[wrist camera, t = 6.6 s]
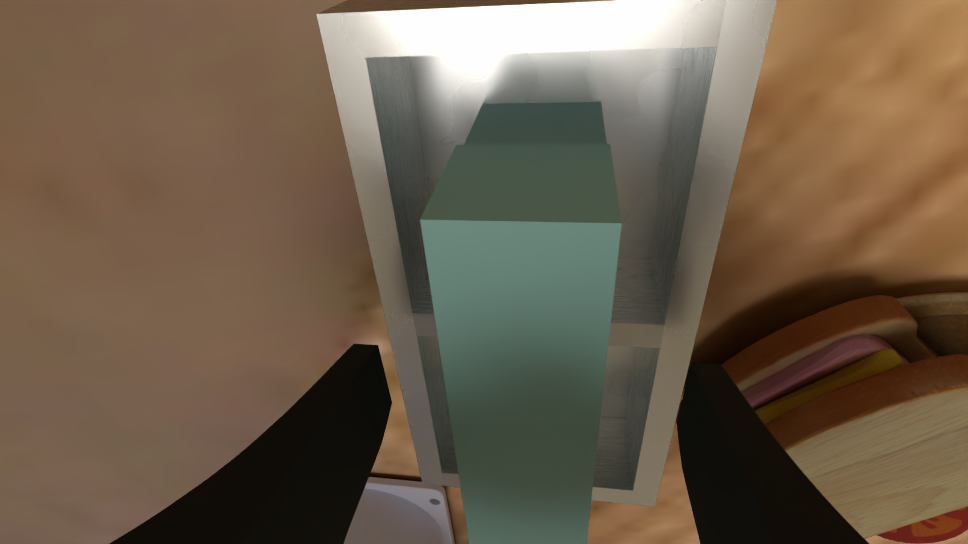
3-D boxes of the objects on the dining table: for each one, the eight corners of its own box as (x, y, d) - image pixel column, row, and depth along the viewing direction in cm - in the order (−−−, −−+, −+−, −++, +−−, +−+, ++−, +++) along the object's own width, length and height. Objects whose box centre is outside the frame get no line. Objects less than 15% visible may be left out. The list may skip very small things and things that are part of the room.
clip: (581, 381, 19) (584, 568, 13) (499, 376, 19) (471, 555, 14) (602, 89, 13) (622, 223, 7) (481, 92, 13) (420, 219, 8)
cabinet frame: (643, 422, 20) (654, 506, 17) (442, 407, 21) (422, 483, 19) (728, -31, 11) (778, -7, 8) (374, -12, 12) (316, 14, 10)
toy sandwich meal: (780, 533, 24) (819, 654, 20) (615, 359, 19) (625, 475, 15) (1145, 449, 18) (1299, 597, 14) (1042, 163, 13) (1236, 273, 9)
